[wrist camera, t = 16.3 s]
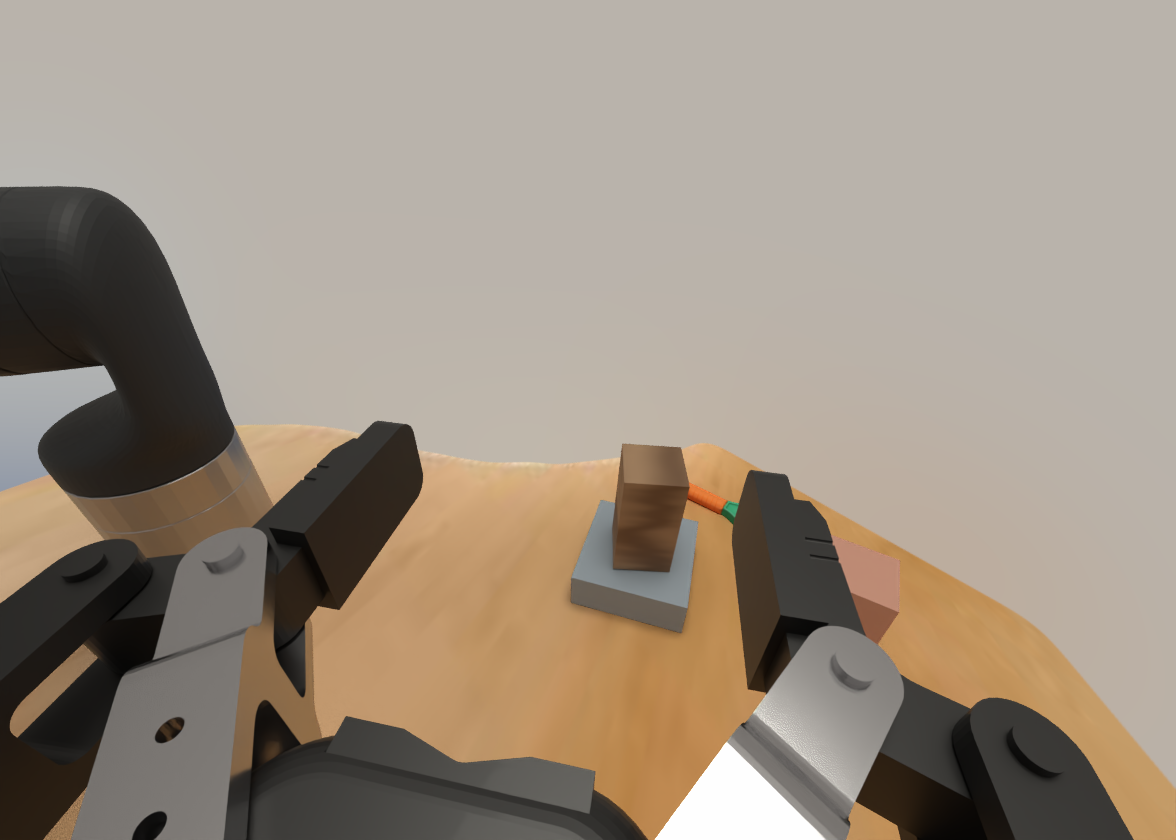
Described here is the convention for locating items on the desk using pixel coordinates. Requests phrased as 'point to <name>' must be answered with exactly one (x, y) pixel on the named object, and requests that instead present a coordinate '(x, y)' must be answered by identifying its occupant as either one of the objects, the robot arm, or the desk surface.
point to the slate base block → (633, 577)
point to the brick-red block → (871, 585)
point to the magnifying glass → (713, 502)
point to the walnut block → (648, 507)
